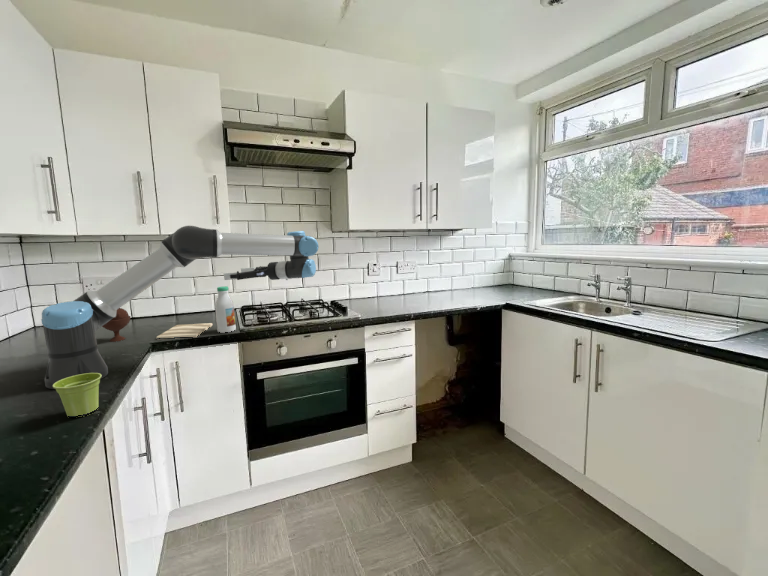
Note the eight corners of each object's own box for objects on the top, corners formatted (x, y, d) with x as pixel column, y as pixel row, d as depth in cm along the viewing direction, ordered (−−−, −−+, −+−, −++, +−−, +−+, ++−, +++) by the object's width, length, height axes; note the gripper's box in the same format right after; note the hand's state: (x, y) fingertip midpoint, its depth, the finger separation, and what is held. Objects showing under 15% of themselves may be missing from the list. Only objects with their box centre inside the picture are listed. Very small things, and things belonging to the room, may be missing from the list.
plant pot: (49, 418, 91) (43, 384, 90) (91, 401, 100) (86, 370, 98) (74, 424, 88) (68, 389, 86) (115, 406, 96) (110, 374, 95)
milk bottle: (220, 334, 163) (216, 288, 160) (215, 331, 169) (210, 287, 165) (238, 330, 168) (234, 286, 165) (232, 327, 174) (228, 285, 170)
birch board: (196, 337, 159) (196, 334, 159) (156, 339, 157) (156, 336, 157) (212, 325, 179) (212, 323, 179) (177, 327, 177) (176, 324, 177)
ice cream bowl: (96, 345, 152) (91, 308, 149) (108, 337, 162) (103, 303, 160) (126, 342, 155) (121, 306, 152) (136, 335, 165) (132, 301, 163)
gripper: (266, 285, 148) (218, 288, 151) (292, 274, 172) (249, 277, 175) (263, 266, 146) (214, 269, 150) (289, 258, 170) (246, 261, 174)
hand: (233, 273), depth 163 cm, fingers open, 13 cm apart
